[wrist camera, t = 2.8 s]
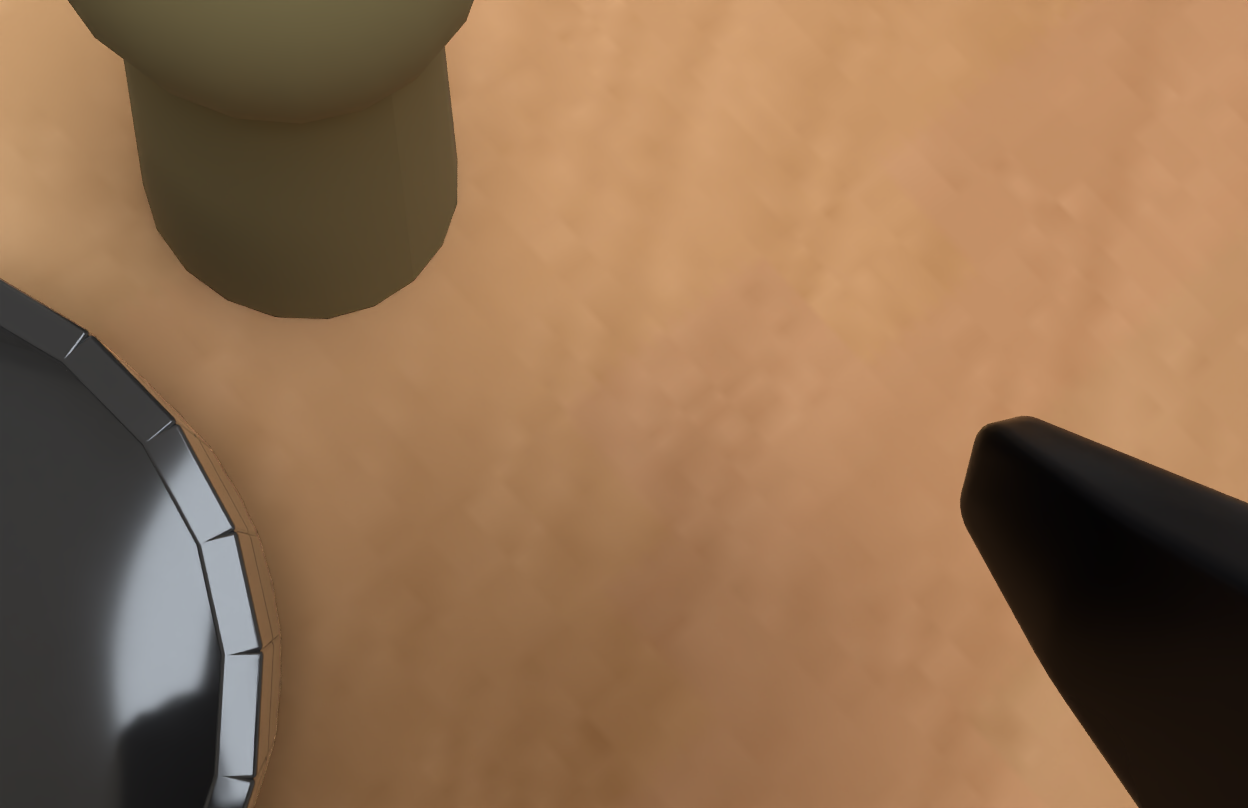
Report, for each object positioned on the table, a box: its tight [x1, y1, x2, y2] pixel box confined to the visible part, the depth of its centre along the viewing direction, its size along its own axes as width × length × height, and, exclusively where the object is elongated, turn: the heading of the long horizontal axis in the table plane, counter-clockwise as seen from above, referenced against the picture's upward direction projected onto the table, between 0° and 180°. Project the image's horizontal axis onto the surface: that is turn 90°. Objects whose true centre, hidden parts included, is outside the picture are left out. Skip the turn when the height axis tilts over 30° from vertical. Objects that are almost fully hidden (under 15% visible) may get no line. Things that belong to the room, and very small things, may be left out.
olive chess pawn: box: [68, 0, 474, 319], centre depth 16 cm, size 6×6×11 cm
